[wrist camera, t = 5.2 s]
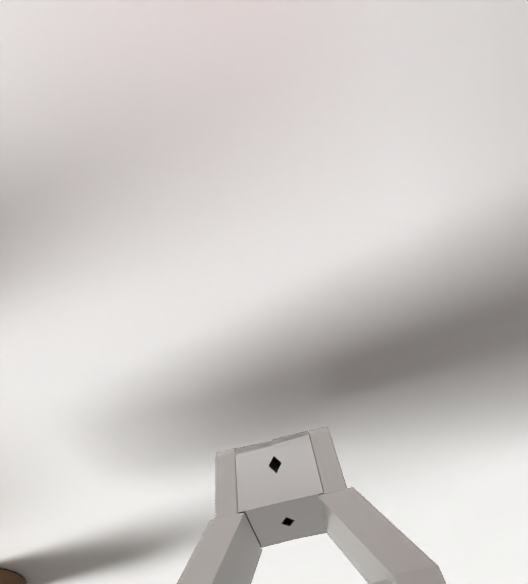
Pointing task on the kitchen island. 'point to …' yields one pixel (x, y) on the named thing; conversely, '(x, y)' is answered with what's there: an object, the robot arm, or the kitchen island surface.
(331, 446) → the robot arm
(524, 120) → the kitchen island surface
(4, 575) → the post outer
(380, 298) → the kitchen island surface
